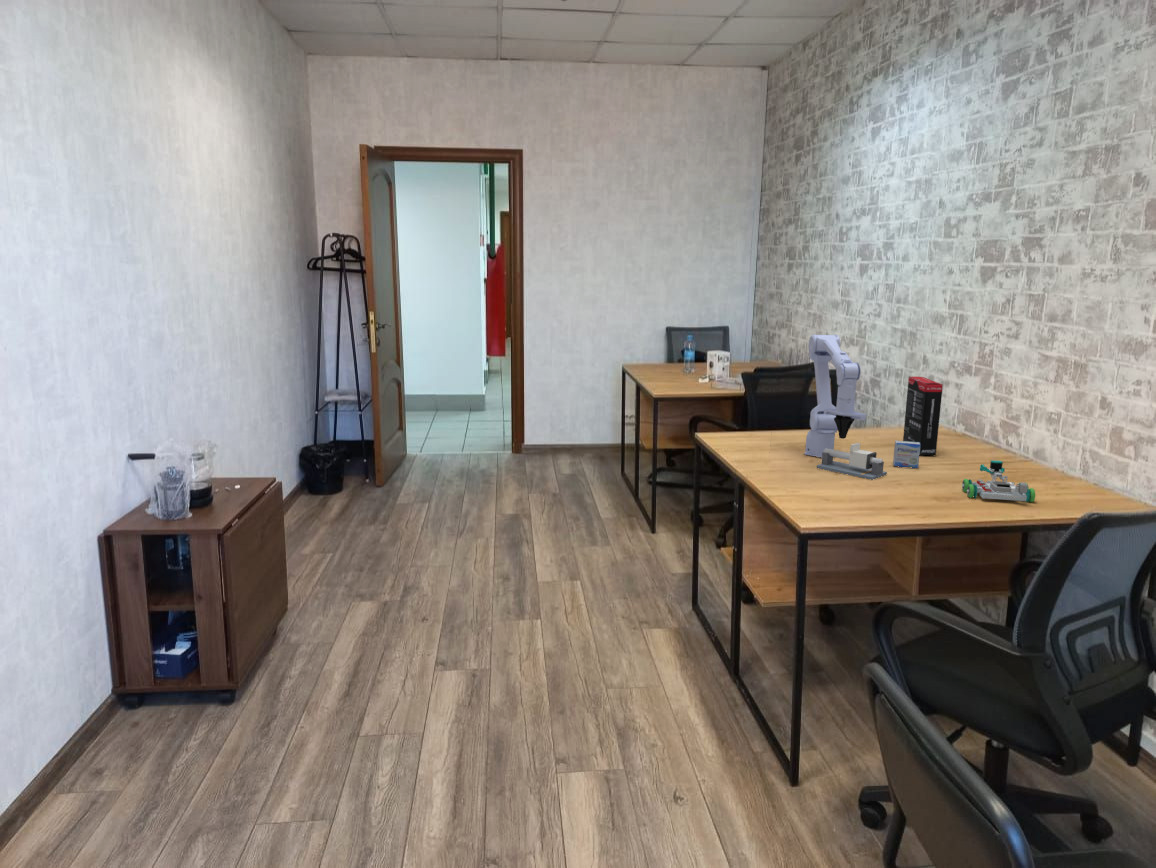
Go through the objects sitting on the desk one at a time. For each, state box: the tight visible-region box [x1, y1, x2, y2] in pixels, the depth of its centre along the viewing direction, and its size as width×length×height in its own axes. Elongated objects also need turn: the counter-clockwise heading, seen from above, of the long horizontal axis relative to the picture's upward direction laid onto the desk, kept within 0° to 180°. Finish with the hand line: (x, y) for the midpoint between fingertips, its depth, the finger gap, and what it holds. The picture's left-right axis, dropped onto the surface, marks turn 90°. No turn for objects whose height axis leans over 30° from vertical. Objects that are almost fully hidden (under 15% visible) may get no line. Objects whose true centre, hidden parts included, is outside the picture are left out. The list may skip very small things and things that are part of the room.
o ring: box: [866, 451, 878, 469], centre depth 261 cm, size 1×5×5 cm, turn 134°
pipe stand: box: [816, 448, 888, 481], centre depth 266 cm, size 20×10×6 cm, turn 43°
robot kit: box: [961, 460, 1036, 503], centre depth 243 cm, size 19×25×9 cm
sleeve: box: [848, 442, 874, 469], centre depth 263 cm, size 6×5×7 cm
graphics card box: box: [902, 376, 944, 455], centre depth 294 cm, size 17×7×27 cm, turn 179°
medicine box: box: [892, 440, 921, 469], centre depth 274 cm, size 8×4×9 cm, turn 73°
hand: (842, 438), depth 270 cm, fingers closed
